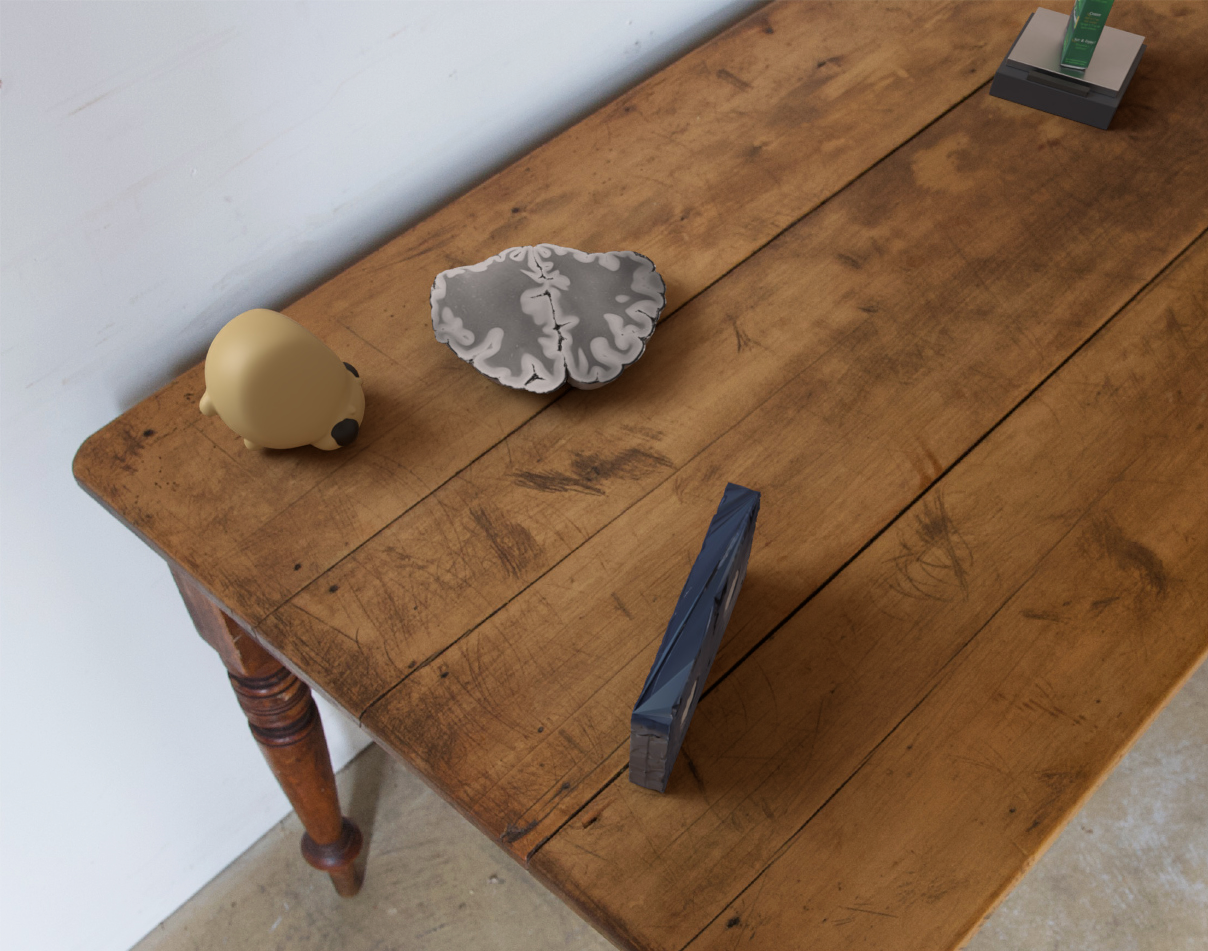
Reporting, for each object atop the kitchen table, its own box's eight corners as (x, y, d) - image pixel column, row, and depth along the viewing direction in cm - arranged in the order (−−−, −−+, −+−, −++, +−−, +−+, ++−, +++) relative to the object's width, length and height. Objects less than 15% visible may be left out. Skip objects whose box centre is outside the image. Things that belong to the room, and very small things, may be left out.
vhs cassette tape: (714, 564, 81) (728, 478, 73) (752, 578, 80) (771, 492, 72) (619, 781, 72) (622, 711, 63) (662, 797, 71) (671, 729, 63)
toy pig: (304, 500, 88) (390, 442, 82) (165, 430, 80) (249, 361, 74) (316, 404, 93) (398, 343, 87) (186, 329, 85) (267, 257, 79)
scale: (1137, 67, 114) (1150, 37, 112) (1106, 130, 109) (1120, 99, 106) (1024, 35, 117) (1034, 4, 115) (988, 94, 112) (998, 63, 109)
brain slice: (451, 433, 87) (446, 408, 85) (424, 286, 96) (420, 259, 94) (692, 397, 90) (695, 371, 87) (645, 256, 98) (646, 229, 96)
